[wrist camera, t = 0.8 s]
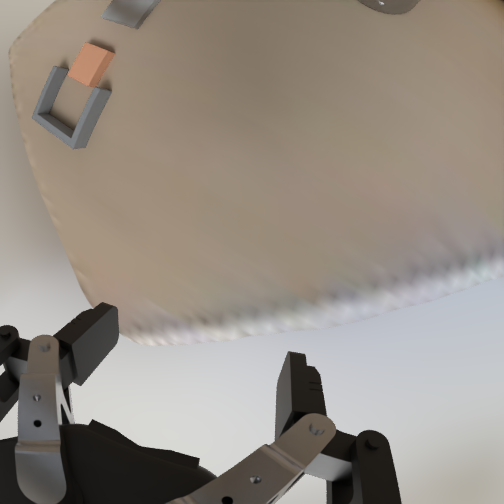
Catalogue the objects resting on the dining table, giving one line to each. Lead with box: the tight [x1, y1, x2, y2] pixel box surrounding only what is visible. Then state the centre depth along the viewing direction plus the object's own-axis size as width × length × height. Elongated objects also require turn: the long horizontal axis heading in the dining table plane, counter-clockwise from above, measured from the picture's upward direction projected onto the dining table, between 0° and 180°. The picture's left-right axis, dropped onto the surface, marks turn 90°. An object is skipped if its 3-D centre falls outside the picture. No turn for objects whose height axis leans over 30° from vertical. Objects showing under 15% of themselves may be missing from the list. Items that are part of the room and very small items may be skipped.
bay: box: [32, 66, 112, 149], centre depth 26 cm, size 8×11×2 cm
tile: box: [68, 42, 115, 87], centre depth 24 cm, size 5×5×2 cm
